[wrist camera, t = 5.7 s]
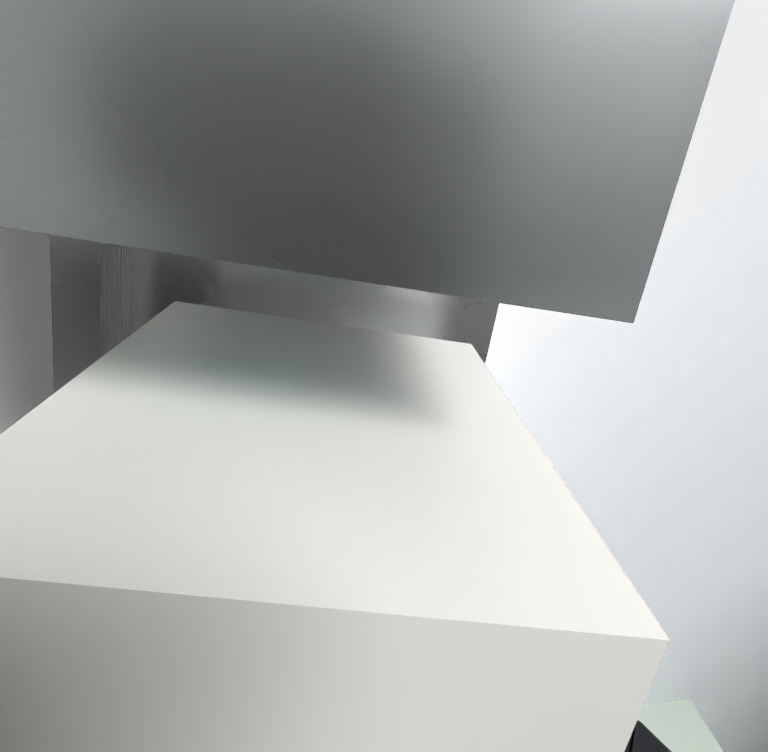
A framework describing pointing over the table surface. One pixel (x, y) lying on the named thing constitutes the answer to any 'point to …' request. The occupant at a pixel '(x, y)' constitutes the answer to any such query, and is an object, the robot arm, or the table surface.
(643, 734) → the robot arm
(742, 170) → the table surface
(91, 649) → the block
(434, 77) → the rail
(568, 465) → the table surface
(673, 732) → the block
